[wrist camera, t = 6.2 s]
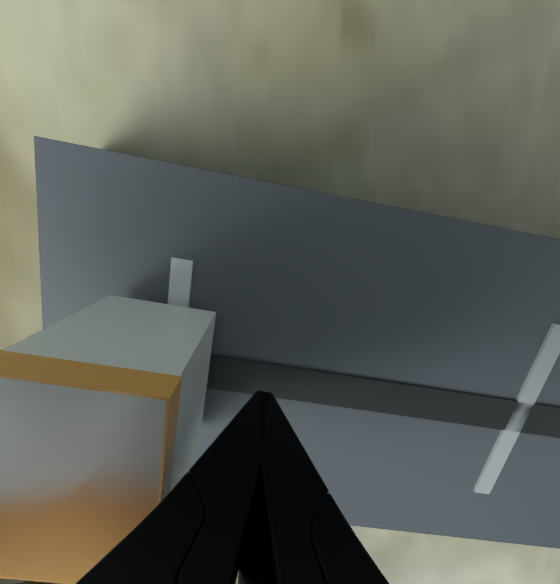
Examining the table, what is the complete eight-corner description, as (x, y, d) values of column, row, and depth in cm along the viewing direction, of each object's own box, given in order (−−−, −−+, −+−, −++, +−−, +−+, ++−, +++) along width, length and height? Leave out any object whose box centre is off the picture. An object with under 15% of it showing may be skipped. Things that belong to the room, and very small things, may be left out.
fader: (218, 310, 8) (169, 398, 4) (201, 436, 9) (152, 591, 6) (108, 293, 8) (-44, 368, 4) (106, 423, 9) (-14, 576, 5)
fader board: (664, 266, 11) (777, 282, 9) (537, 495, 14) (592, 554, 12) (93, 154, 10) (31, 135, 7) (92, 439, 13) (48, 494, 10)
